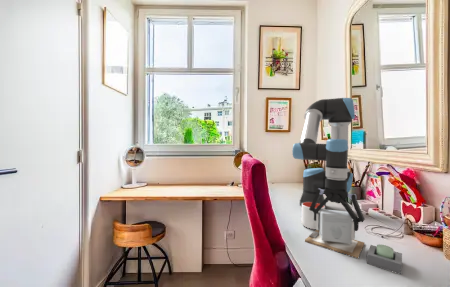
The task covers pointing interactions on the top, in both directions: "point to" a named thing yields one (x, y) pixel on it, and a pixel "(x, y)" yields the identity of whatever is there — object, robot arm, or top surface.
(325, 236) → the skincare box
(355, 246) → the clipboard
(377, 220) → the top surface
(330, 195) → the robot arm
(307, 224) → the cup
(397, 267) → the button box
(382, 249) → the button
